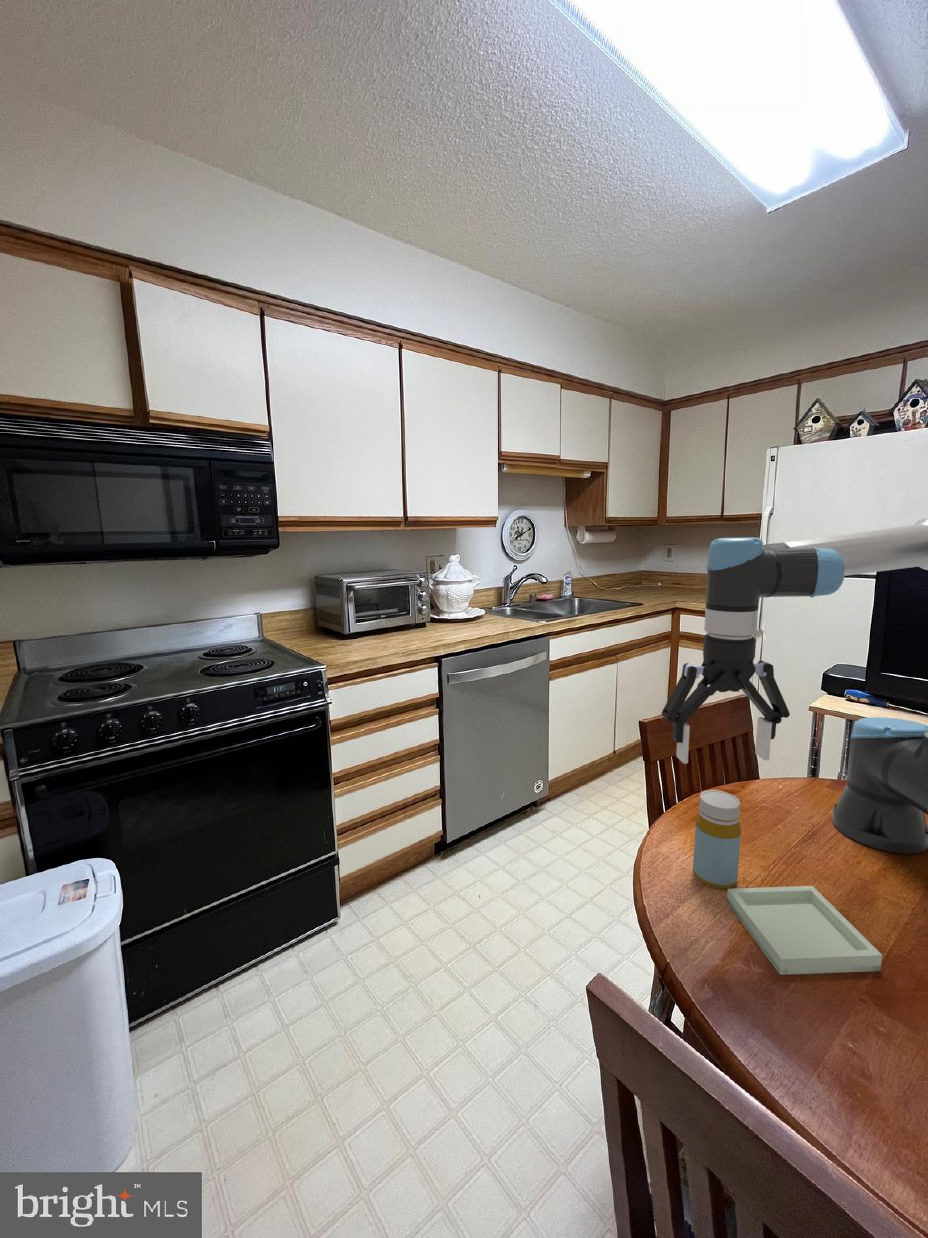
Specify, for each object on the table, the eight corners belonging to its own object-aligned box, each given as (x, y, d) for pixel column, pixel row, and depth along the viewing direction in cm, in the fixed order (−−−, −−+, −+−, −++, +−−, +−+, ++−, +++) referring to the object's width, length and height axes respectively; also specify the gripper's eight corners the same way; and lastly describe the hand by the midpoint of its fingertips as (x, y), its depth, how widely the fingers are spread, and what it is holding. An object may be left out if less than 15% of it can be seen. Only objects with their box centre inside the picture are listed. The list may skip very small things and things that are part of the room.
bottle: (742, 894, 87) (749, 811, 84) (697, 889, 88) (703, 808, 85) (730, 867, 93) (735, 790, 91) (688, 863, 95) (693, 787, 92)
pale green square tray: (810, 899, 85) (812, 885, 85) (880, 971, 71) (882, 955, 71) (726, 902, 85) (727, 888, 84) (779, 975, 71) (781, 959, 71)
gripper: (791, 627, 87) (781, 746, 91) (644, 632, 87) (640, 751, 90) (822, 636, 80) (810, 765, 83) (662, 642, 79) (657, 771, 83)
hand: (722, 758), depth 87 cm, fingers open, 13 cm apart
